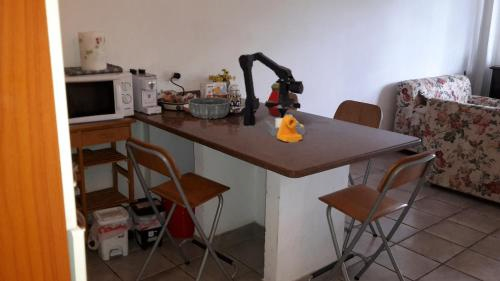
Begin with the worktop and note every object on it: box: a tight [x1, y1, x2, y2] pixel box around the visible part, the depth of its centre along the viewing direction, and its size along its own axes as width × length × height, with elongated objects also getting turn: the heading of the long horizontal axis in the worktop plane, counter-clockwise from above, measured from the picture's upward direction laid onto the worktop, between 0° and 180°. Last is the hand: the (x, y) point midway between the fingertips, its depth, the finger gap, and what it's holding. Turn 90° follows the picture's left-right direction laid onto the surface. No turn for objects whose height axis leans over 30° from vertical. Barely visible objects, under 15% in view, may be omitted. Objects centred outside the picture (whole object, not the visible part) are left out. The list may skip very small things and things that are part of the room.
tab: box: [274, 117, 284, 127], centre depth 242 cm, size 4×3×6 cm
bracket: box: [276, 116, 303, 143], centre depth 229 cm, size 11×7×12 cm, turn 119°
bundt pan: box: [187, 96, 232, 120], centre depth 282 cm, size 26×26×10 cm
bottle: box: [267, 82, 280, 118], centre depth 290 cm, size 16×14×20 cm
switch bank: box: [263, 119, 306, 137], centre depth 249 cm, size 18×18×5 cm
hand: (281, 120), depth 252 cm, fingers closed
